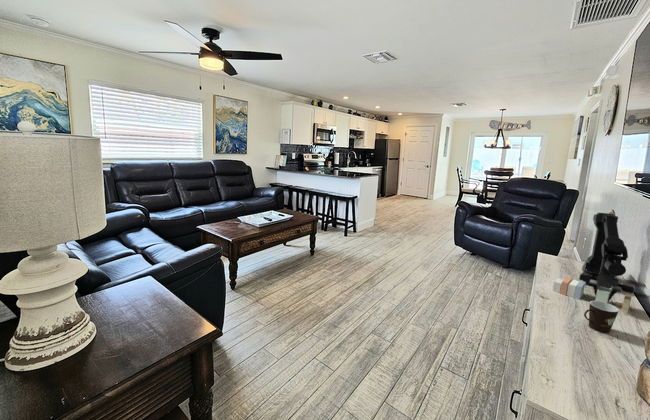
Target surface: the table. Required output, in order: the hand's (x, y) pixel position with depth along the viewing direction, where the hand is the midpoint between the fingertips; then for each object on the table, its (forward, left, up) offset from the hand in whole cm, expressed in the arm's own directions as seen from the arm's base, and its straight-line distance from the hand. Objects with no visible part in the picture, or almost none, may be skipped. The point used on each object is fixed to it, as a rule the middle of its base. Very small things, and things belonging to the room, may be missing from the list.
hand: (602, 298), depth 141 cm
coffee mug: (+30, +2, -2) cm, 31 cm away
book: (0, 0, -1) cm, 1 cm away
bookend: (0, +7, -2) cm, 7 cm away
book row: (0, -13, -2) cm, 13 cm away
